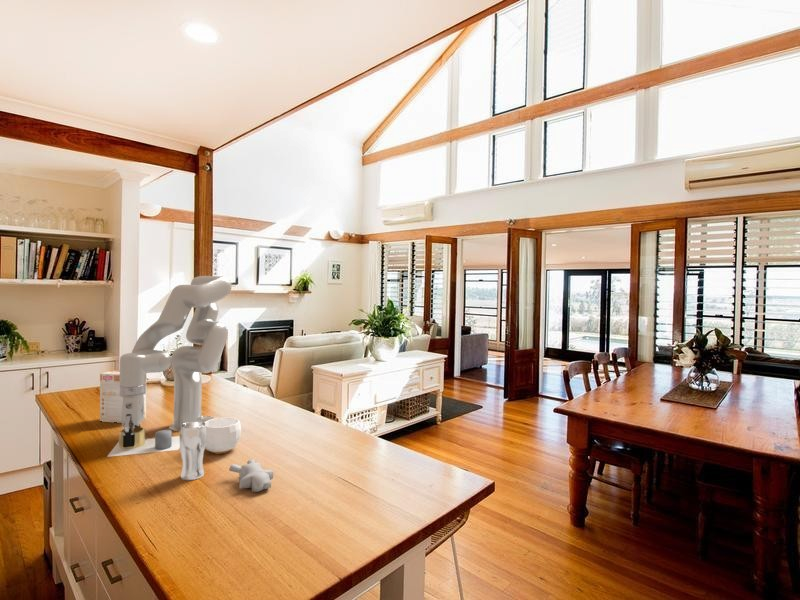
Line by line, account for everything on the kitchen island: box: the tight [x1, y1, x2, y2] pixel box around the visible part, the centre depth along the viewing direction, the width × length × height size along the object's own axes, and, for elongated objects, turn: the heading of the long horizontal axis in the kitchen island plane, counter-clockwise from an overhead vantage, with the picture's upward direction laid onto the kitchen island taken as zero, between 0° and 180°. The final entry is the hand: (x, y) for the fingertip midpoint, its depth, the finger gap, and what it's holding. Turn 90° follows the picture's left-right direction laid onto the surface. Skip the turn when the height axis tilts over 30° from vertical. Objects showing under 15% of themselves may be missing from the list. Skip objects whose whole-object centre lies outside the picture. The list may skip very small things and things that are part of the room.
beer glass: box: [179, 421, 206, 481], centre depth 124 cm, size 7×7×15 cm
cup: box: [205, 416, 242, 455], centre depth 143 cm, size 12×12×10 cm
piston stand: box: [106, 429, 180, 458], centre depth 143 cm, size 20×14×6 cm
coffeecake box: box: [99, 370, 147, 424], centre depth 171 cm, size 15×7×20 cm, turn 84°
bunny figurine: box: [228, 458, 274, 493], centre depth 120 cm, size 10×5×15 cm
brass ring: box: [118, 426, 146, 449], centre depth 143 cm, size 7×7×5 cm
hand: (131, 441), depth 143 cm, fingers open, 7 cm apart
